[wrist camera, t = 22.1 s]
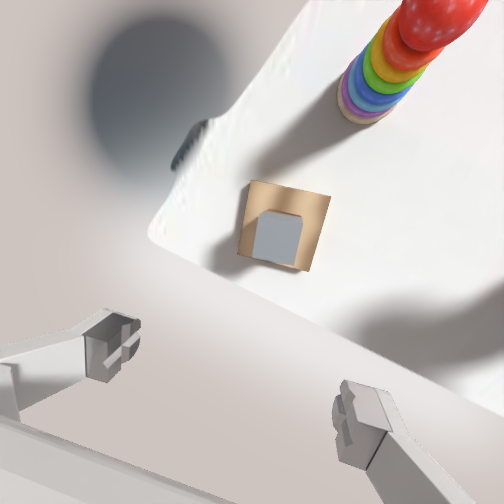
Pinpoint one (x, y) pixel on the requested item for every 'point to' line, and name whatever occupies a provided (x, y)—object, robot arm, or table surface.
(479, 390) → the table surface
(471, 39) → the table surface
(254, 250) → the slate block
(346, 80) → the stacking toy
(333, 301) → the table surface
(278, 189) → the base board
